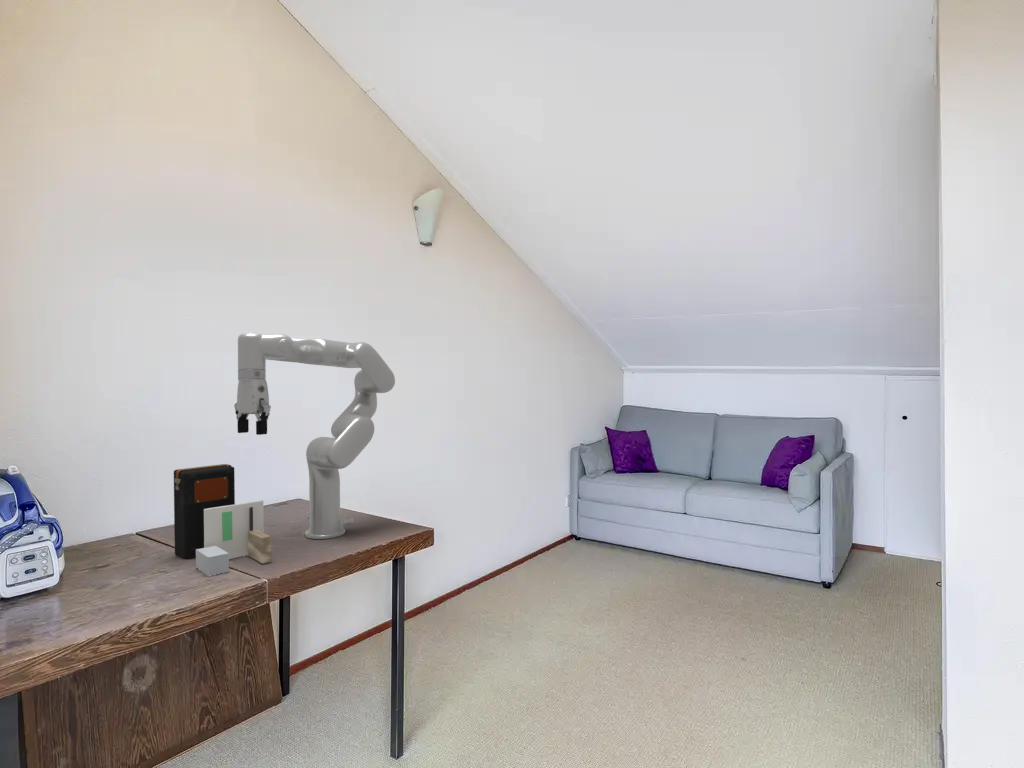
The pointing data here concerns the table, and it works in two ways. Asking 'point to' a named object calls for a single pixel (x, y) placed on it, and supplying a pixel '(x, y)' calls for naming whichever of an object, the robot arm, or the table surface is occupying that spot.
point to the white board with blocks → (227, 535)
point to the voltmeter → (198, 502)
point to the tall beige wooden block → (258, 543)
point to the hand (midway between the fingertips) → (252, 433)
